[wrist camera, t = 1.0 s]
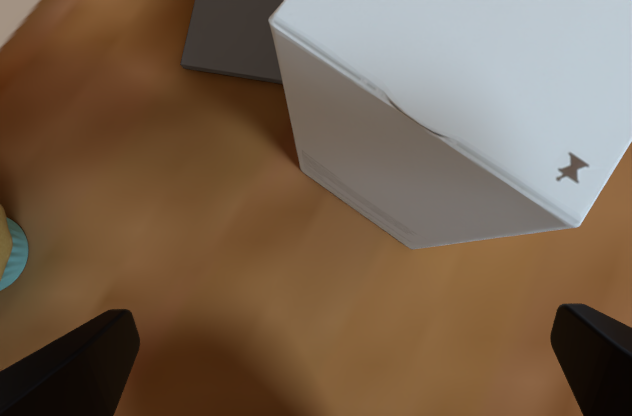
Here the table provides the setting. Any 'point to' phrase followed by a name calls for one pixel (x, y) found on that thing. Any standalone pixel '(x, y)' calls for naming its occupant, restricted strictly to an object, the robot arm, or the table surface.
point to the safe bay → (233, 39)
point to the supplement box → (459, 109)
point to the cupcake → (11, 250)
